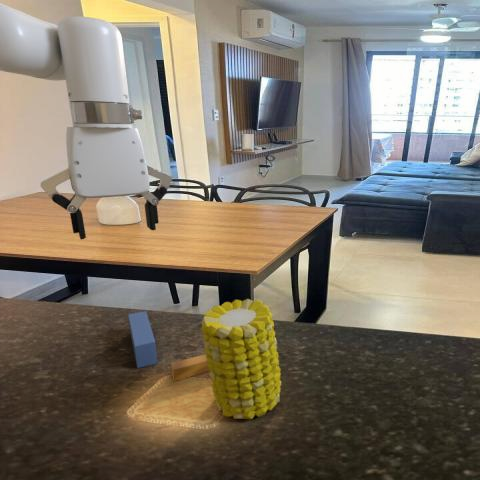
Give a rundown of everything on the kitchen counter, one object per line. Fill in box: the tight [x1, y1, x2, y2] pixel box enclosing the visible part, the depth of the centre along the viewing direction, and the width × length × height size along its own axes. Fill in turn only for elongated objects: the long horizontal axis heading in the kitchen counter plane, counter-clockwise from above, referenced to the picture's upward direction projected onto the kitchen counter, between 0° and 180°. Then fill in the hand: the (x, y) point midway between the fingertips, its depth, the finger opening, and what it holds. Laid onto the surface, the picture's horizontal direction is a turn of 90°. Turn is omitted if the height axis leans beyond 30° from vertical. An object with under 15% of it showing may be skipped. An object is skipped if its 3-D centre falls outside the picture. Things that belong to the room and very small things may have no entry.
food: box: [200, 298, 282, 420], centre depth 52 cm, size 15×12×10 cm
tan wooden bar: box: [170, 353, 210, 382], centre depth 61 cm, size 12×2×2 cm, turn 120°
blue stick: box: [127, 310, 158, 369], centre depth 66 cm, size 12×3×4 cm, turn 30°
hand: (118, 232), depth 59 cm, fingers open, 9 cm apart
